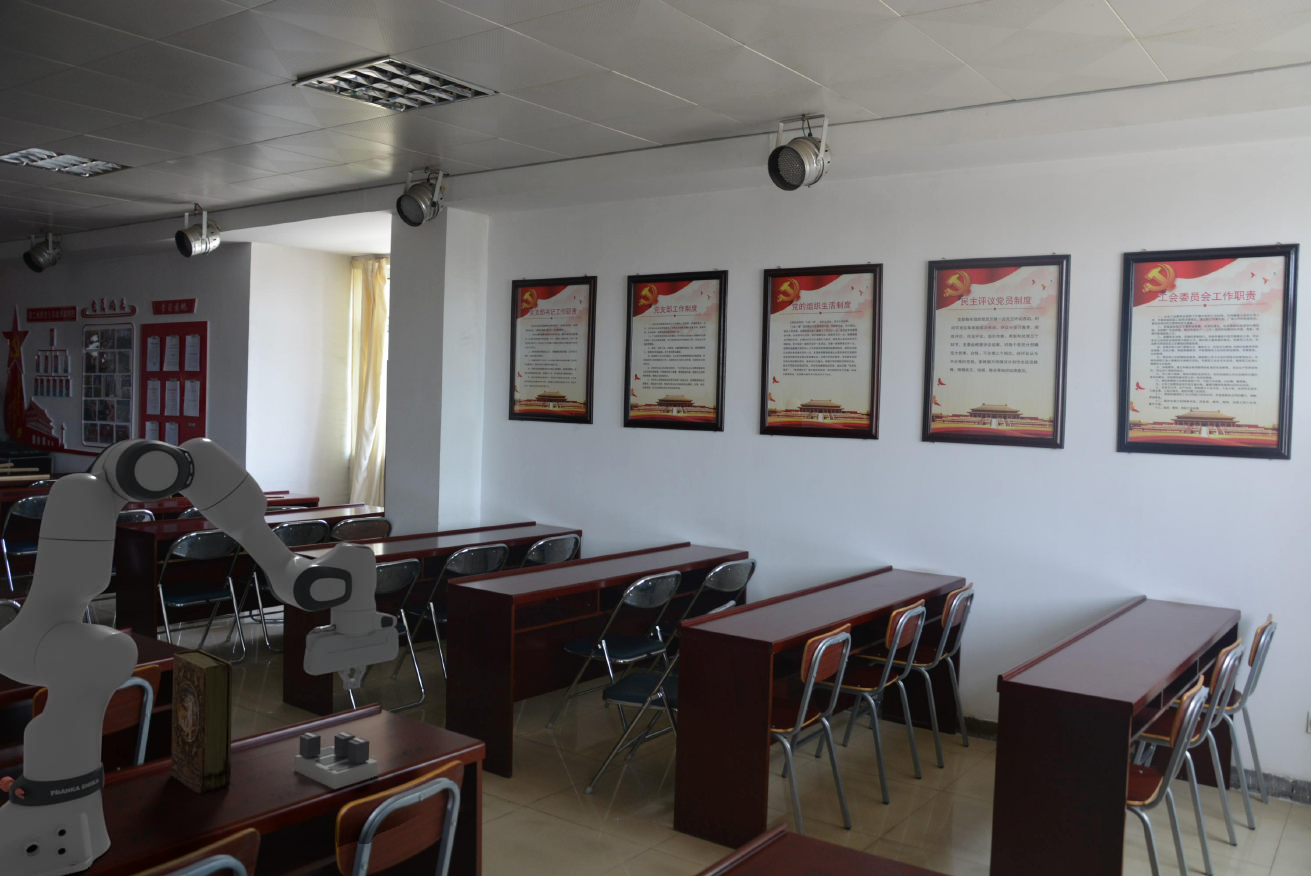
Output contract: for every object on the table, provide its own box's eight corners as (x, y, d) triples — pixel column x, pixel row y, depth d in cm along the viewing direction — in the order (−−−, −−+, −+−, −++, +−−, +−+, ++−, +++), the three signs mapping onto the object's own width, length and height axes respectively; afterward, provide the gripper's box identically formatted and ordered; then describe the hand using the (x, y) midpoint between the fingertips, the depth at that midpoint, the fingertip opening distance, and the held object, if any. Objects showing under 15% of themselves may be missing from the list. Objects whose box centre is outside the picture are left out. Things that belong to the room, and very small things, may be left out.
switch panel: (334, 789, 190) (334, 773, 190) (294, 770, 199) (294, 755, 199) (377, 775, 197) (377, 760, 197) (336, 757, 207) (337, 743, 207)
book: (168, 773, 196) (170, 652, 195) (195, 766, 200) (198, 648, 199) (201, 796, 185) (204, 668, 184) (230, 788, 189) (232, 663, 188)
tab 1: (307, 758, 197) (307, 737, 197) (299, 754, 199) (299, 734, 199) (320, 754, 199) (320, 734, 199) (312, 751, 201) (312, 731, 201)
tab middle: (342, 757, 198) (342, 737, 198) (334, 754, 200) (334, 734, 200) (354, 754, 200) (355, 734, 200) (346, 750, 202) (347, 730, 202)
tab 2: (356, 763, 195) (356, 743, 195) (347, 760, 196) (348, 739, 196) (368, 759, 197) (369, 739, 197) (360, 756, 199) (360, 736, 199)
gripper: (315, 631, 185) (313, 701, 185) (403, 616, 200) (402, 682, 201) (298, 626, 189) (296, 695, 189) (386, 612, 205) (384, 676, 205)
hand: (351, 688), depth 195 cm, fingers closed
